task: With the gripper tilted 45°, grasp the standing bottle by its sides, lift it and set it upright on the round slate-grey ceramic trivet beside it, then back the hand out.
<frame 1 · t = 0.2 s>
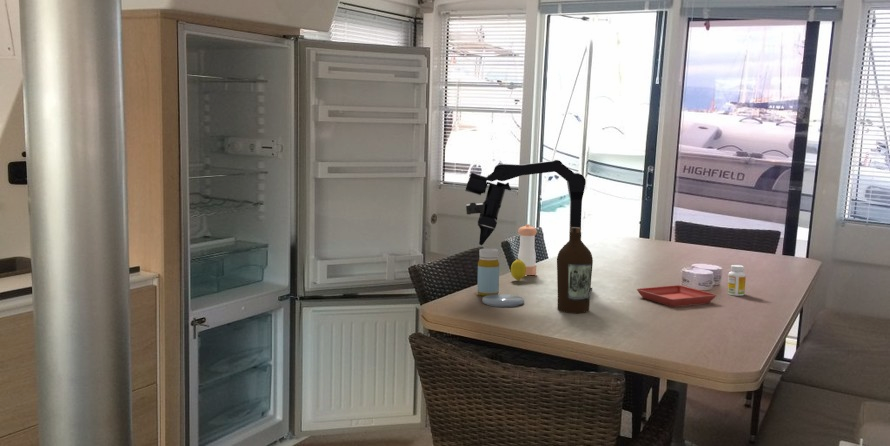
hand: (481, 242, 260), 15 cm above the table, tool tilted 15°, fingers open, 9 cm apart
lemon: (518, 281, 273), on the table
bottle: (488, 295, 249), on the table
pepper shaker: (526, 275, 286), on the table
trivet: (503, 302, 237), on the table
plant saucer: (675, 302, 243), on the table
supplement bottle: (735, 295, 254), on the table
olive oil: (573, 310, 228), on the table
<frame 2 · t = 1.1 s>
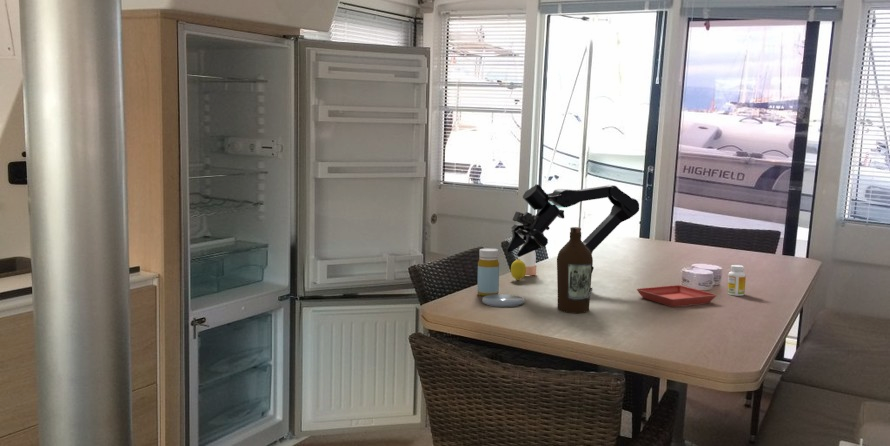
hand: (512, 253, 250), 13 cm above the table, tool tilted 45°, fingers open, 9 cm apart
nothing on the table moved.
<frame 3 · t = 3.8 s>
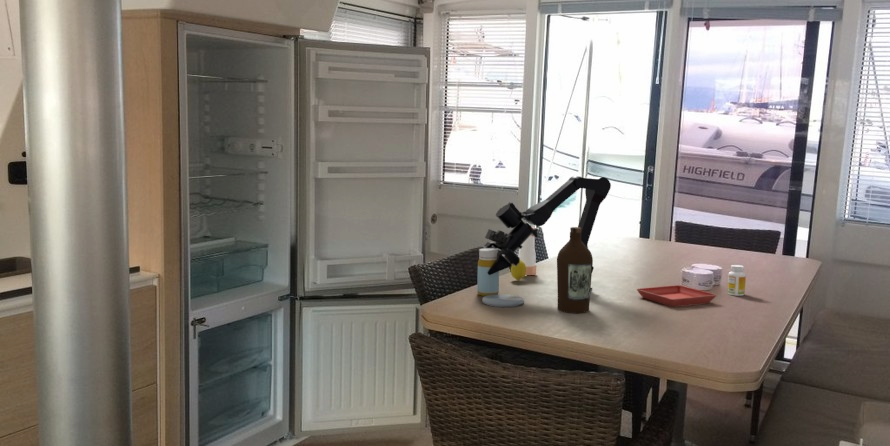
hand: (484, 272, 247), 8 cm above the table, tool tilted 45°, fingers closed on bottle, 7 cm apart
bottle: (488, 295, 249), on the table, touching gripper
everything else where it was.
when the fingers open (10 cm above the table, at t = 7.7 s): bottle stays where it is, resting on trivet.
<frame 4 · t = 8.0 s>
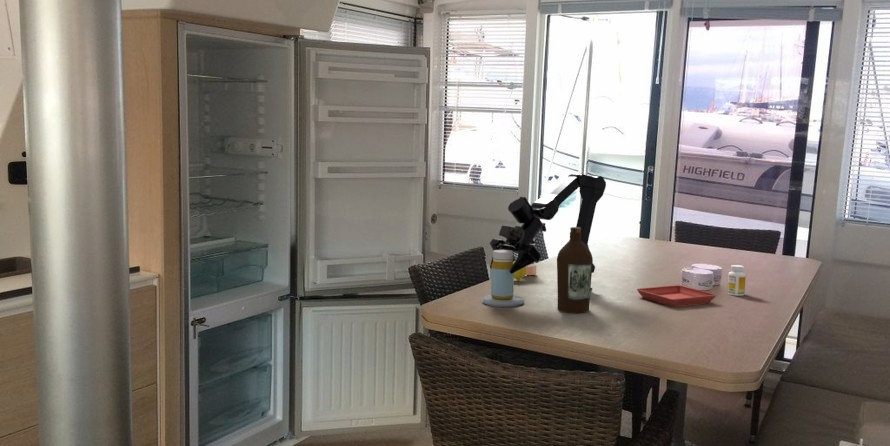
hand: (500, 270, 235), 10 cm above the table, tool tilted 45°, fingers open, 9 cm apart
bottle: (502, 298, 238), point 1 cm above the table, touching trivet
everything else where it was.
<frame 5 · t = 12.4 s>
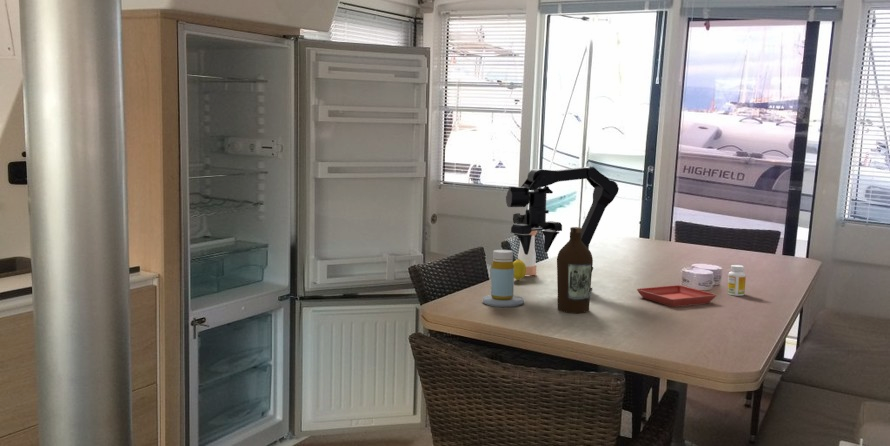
hand: (536, 253, 253), 13 cm above the table, tool pointing down, fingers open, 9 cm apart
nothing on the table moved.
at the end: bottle 0.7 cm off-centre on the trivet, point 1.0 cm above the trivet's base; bottle tilted 0°; the gripper is holding nothing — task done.
